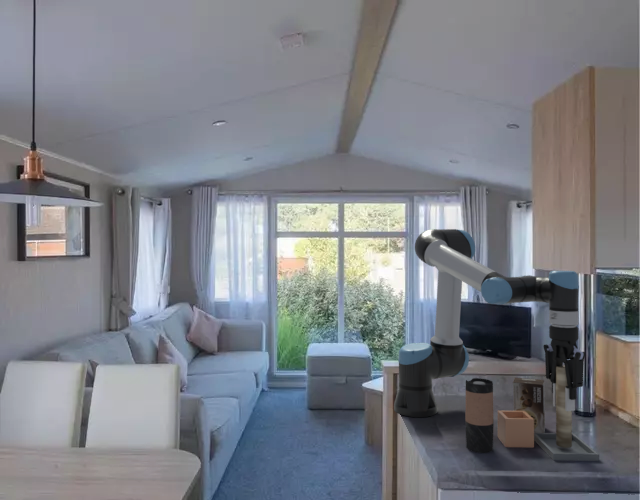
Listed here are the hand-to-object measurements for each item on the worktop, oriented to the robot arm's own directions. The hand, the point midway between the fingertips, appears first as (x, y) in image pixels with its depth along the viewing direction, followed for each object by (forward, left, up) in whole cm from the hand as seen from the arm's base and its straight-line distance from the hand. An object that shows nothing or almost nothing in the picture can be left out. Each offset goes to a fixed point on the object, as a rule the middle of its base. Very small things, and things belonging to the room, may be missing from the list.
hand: (563, 408), depth 150 cm
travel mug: (0, -24, -13) cm, 27 cm away
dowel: (0, 0, -11) cm, 11 cm away
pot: (-5, -12, -13) cm, 18 cm away
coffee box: (-17, -4, -13) cm, 22 cm away
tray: (0, 0, -13) cm, 13 cm away
